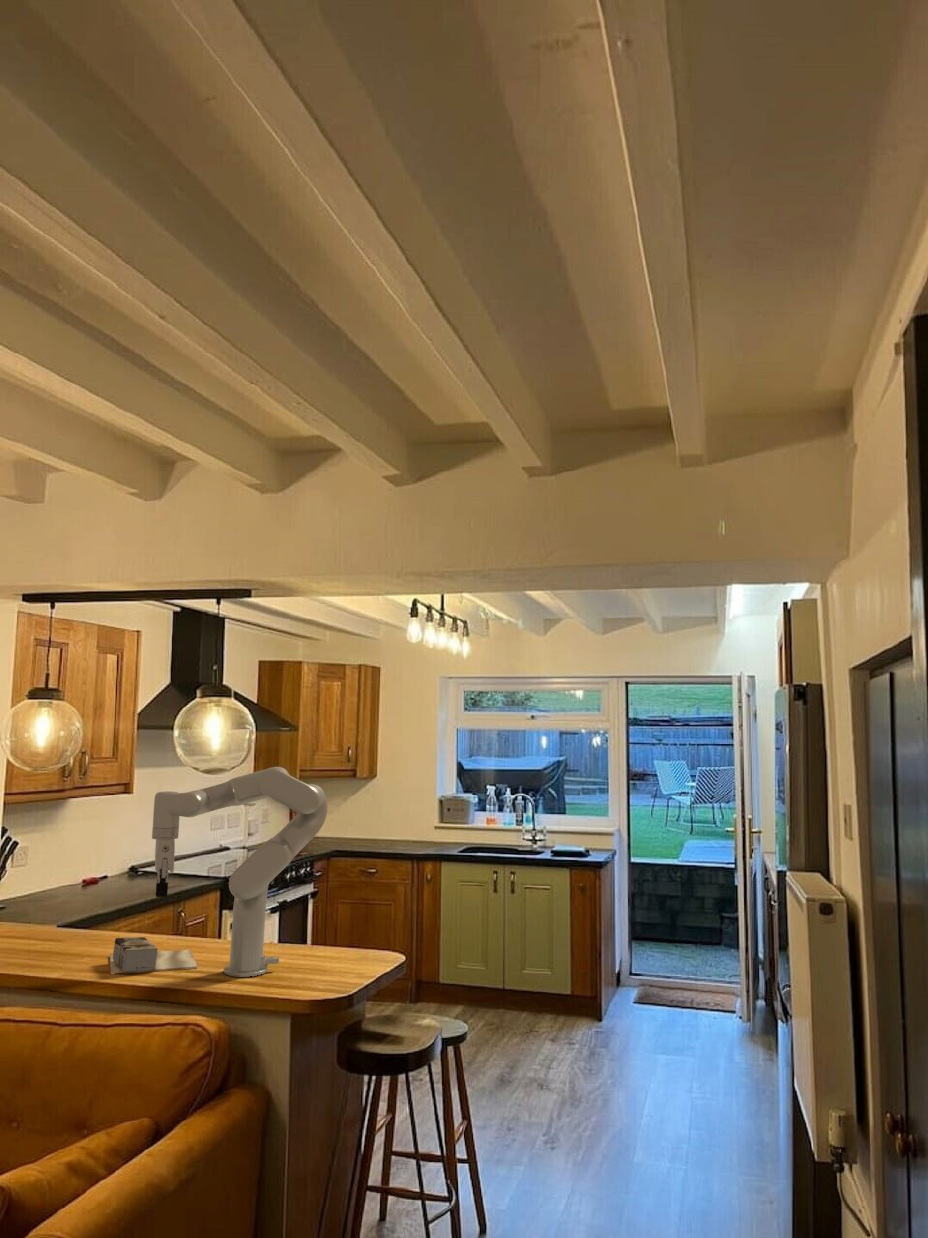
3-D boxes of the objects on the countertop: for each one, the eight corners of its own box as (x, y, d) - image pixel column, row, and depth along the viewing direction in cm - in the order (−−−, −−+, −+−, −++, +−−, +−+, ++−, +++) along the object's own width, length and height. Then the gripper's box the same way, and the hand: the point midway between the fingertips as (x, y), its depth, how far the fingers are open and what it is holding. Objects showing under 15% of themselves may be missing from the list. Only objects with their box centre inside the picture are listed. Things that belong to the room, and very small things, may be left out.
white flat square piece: (190, 951, 280) (190, 949, 280) (197, 968, 260) (197, 966, 260) (109, 956, 271) (110, 954, 271) (110, 974, 251) (110, 972, 251)
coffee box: (126, 949, 251) (114, 938, 264) (123, 972, 250) (111, 960, 263) (158, 947, 256) (145, 936, 269) (155, 970, 255) (142, 958, 268)
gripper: (180, 835, 256) (176, 900, 254) (176, 830, 270) (172, 891, 268) (153, 836, 254) (149, 901, 251) (150, 831, 267) (146, 893, 265)
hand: (161, 896), depth 259 cm, fingers closed
